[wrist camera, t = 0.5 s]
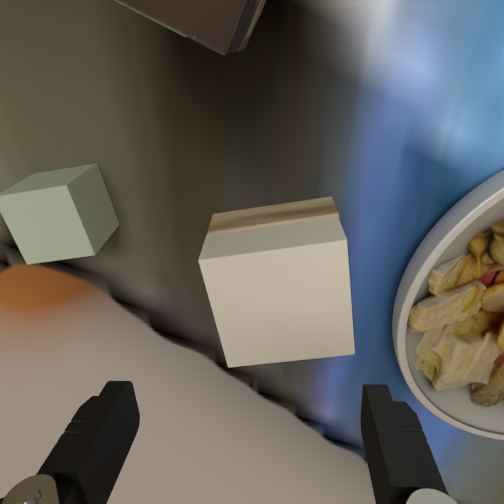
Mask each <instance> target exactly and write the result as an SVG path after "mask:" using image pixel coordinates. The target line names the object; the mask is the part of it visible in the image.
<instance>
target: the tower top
mask: <svg viewBox="0 0 504 504" xmlns="http://www.w3.org/2000/svg"><path fill="white" fill-rule="evenodd" d="M198 261H199V264H200V268H201V272H202V275H203V279H204V282H205V286H206V290H207V293H208V297H209V300H210V304H211V308H212V311H213V315H214V318H215V322H216V326H217V329H218V333H219V336H220V340H221V344H222V347H223V351H224V354H225V358H226V361H227V365H228V367H238V366H247V365H257V364H267V363H277V362H286V361H296V360H306V359H315V358H325V357H335V356H344V355H354V354H355V348H354V334H353V319H352V305H351V290H350V276H349V262H348V247H347V239H346V236H345V233H344V231H343V228H342V226H341V223H340V221H339V218H338V216H331V217H324V218H317V219H310V220H303V221H297V222H290V223H283V224H276V225H269V226H262V227H255V228H248V229H241V230H235V231H228V232H221V233H214V234H207V235H206V238H205V241H204V244H203V247H202V250H201V253H200V257H199V260H198Z"/></svg>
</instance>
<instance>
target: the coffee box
mask: <svg viewBox="0 0 504 504" xmlns="http://www.w3.org/2000/svg"><path fill="white" fill-rule="evenodd" d="M114 1H116V2H118V3H120V4H122V5H124V6H126V7H128V8H130V9H131V10H133V11H135V12H137V13H139V14H141V15H143V16H145V17H147V18H149V19H151V20H153V21H155V22H157V23H158V24H160V25H162V26H164V27H166V28H168V29H170V30H172V31H174V32H176V33H178V34H180V35H182V36H184V37H186V38H188V39H190V40H192V41H194V42H196V43H198V44H200V45H202V46H204V47H206V48H208V49H210V50H212V51H215V52H217V53H219V54H221V55H224V56H226V55H227V54H228V53H232V52H238V51H241V50H244V49H245V48H246V46H247V43H248V41H249V39H250V37H251V34H252V32H253V30H254V27H255V25H256V23H257V21H258V18H259V16H260V14H261V12H262V9H263V7H264V5H265V2H266V0H114Z"/></svg>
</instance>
